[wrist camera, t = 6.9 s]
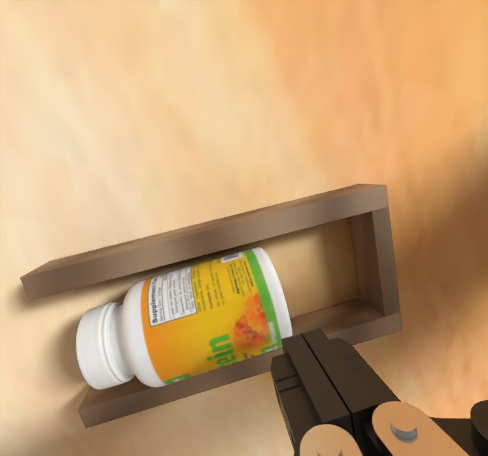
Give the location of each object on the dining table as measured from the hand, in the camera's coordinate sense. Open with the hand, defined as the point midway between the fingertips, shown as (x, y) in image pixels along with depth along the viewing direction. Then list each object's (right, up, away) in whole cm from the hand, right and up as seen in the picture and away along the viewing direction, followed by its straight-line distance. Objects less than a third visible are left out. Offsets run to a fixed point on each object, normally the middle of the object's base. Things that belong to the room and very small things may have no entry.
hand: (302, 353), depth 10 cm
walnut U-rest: (-3, +1, +7) cm, 8 cm away
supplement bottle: (0, +1, +5) cm, 5 cm away
